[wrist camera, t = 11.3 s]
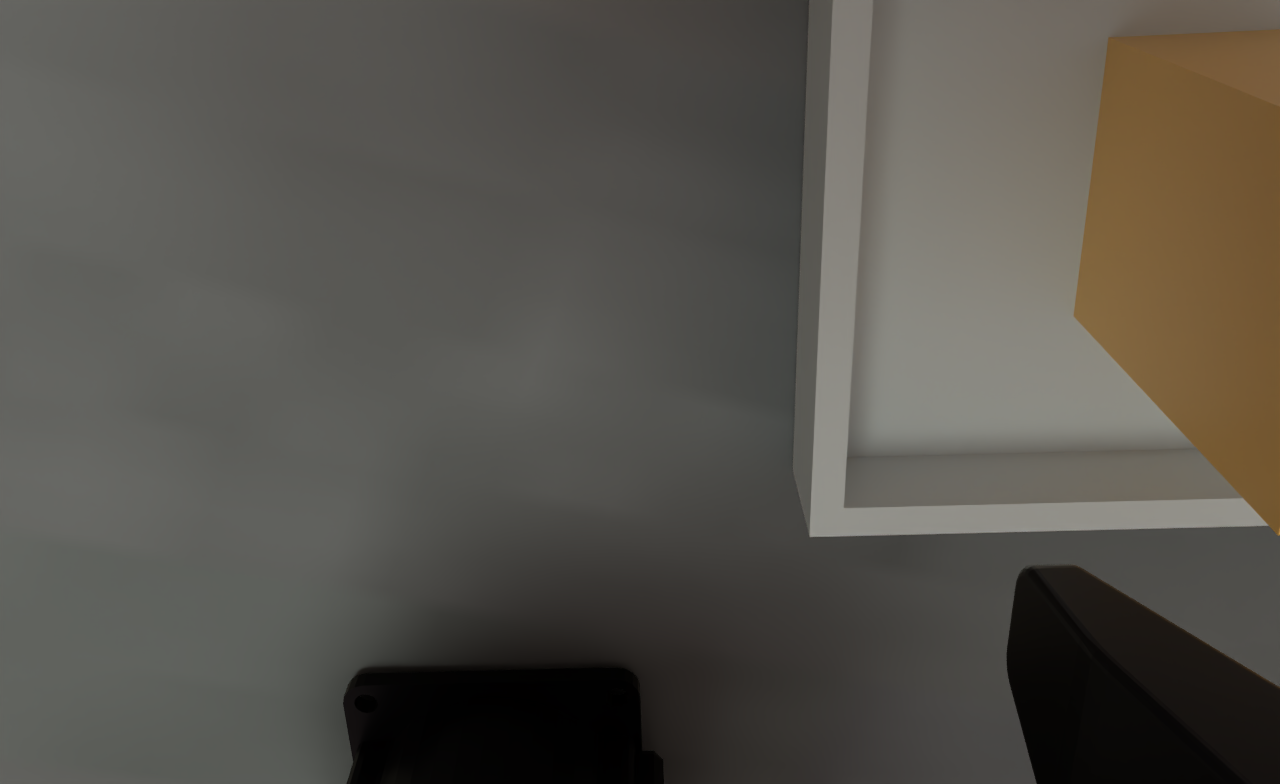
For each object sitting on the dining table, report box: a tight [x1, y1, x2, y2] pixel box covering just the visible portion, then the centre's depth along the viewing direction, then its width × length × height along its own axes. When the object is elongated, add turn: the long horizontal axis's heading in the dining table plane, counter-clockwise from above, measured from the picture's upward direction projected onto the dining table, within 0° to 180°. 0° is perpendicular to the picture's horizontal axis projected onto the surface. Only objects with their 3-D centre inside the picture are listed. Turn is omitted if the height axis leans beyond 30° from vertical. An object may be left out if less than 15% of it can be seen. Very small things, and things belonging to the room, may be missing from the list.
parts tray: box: [793, 0, 1280, 537], centre depth 20 cm, size 13×12×2 cm
